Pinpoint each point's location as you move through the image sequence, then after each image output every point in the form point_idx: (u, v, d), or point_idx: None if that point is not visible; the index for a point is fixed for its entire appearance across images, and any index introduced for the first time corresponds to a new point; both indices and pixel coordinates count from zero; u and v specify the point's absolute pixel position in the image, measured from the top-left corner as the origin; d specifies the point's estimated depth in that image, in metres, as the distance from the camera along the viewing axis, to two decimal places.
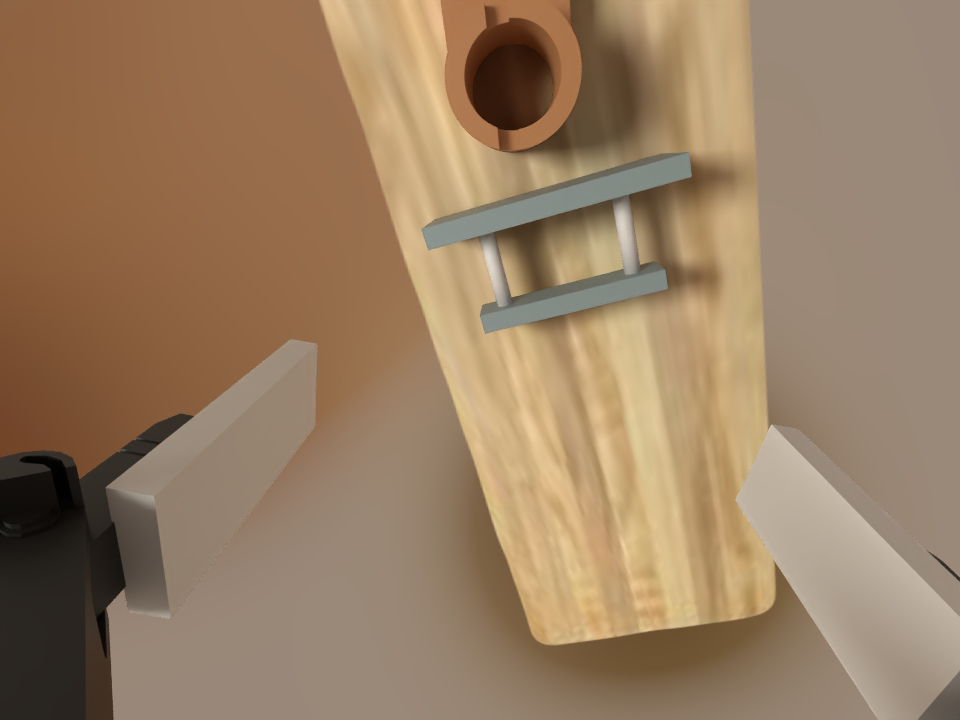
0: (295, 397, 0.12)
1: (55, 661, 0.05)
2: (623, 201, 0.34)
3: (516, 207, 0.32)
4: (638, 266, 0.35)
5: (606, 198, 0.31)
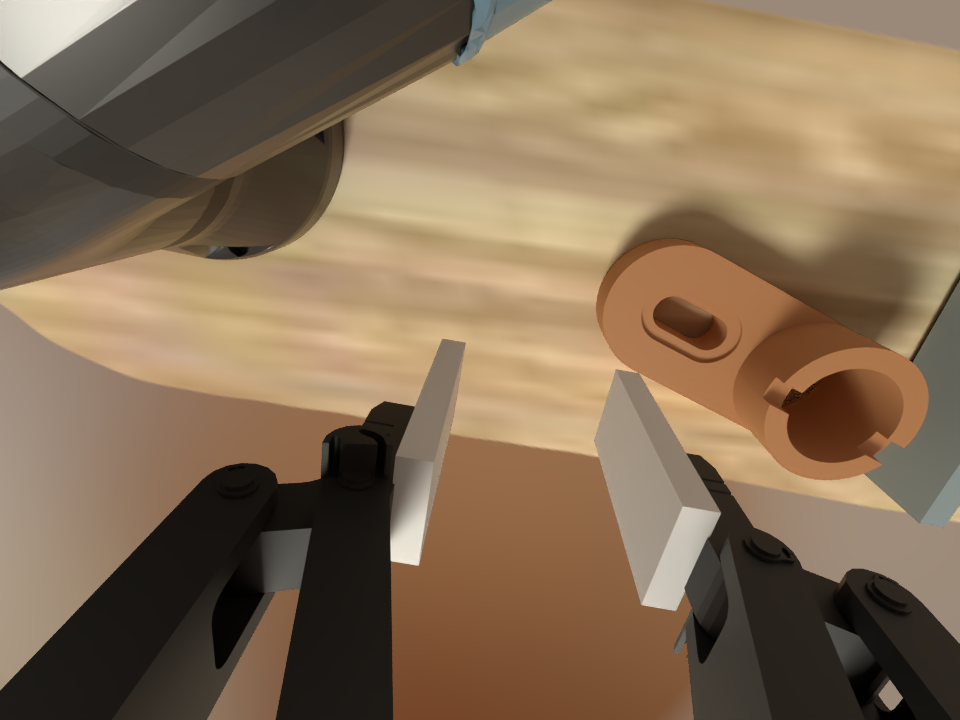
0: (456, 388, 0.14)
1: (372, 599, 0.06)
2: None
3: None
4: None
5: None
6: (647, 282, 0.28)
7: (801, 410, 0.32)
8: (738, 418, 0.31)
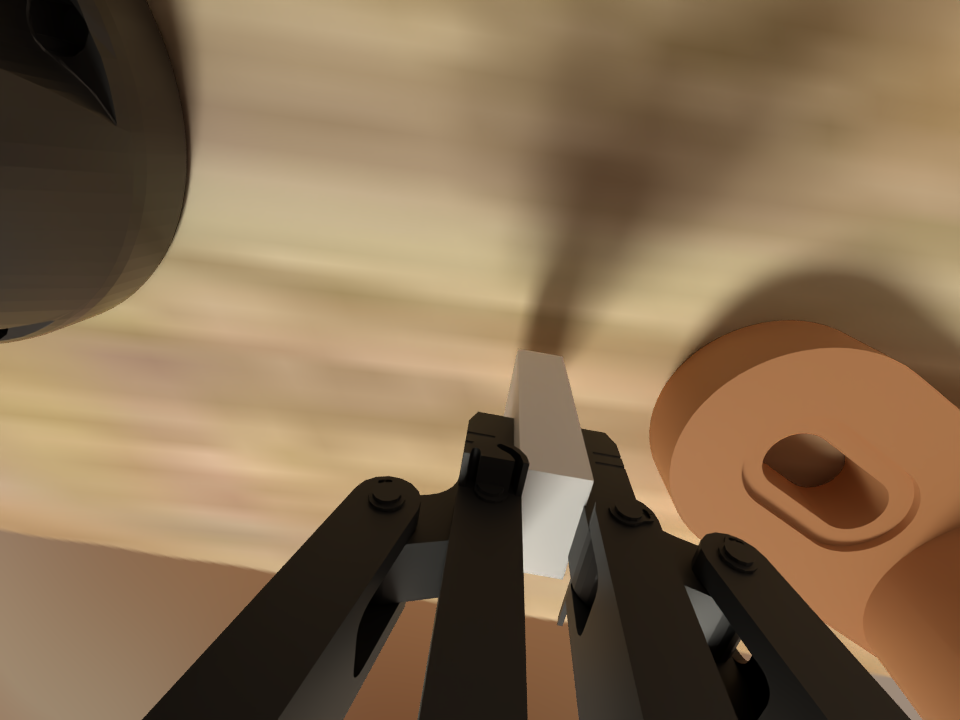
0: None
1: (506, 613, 0.07)
2: None
3: None
4: None
5: None
6: (771, 405, 0.15)
7: None
8: (863, 638, 0.18)
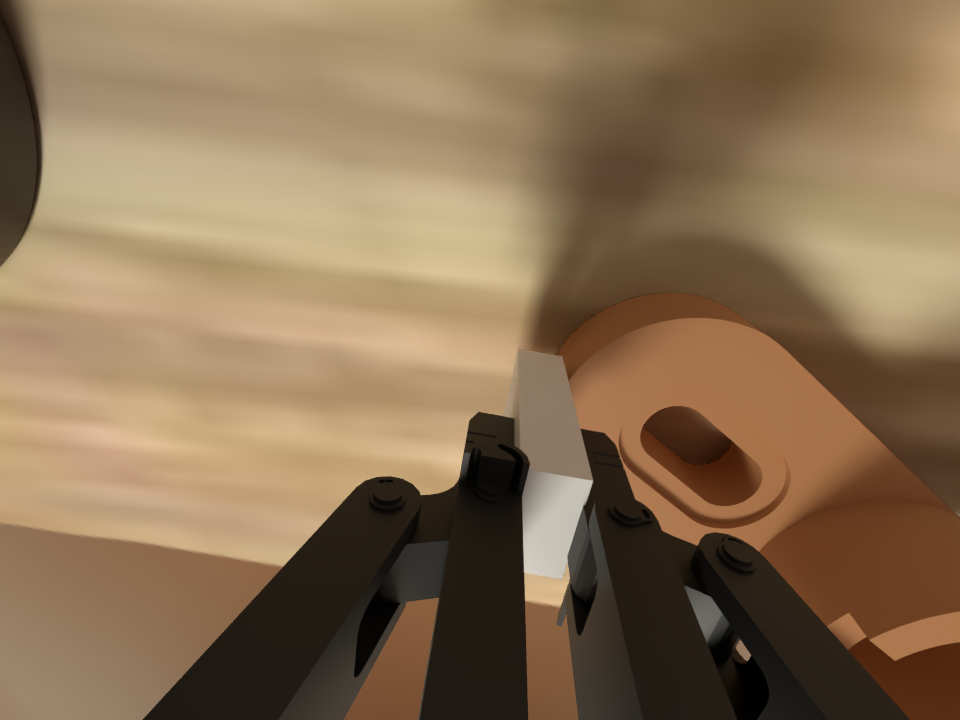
0: None
1: (506, 612, 0.07)
2: None
3: None
4: None
5: None
6: (646, 374, 0.15)
7: None
8: None
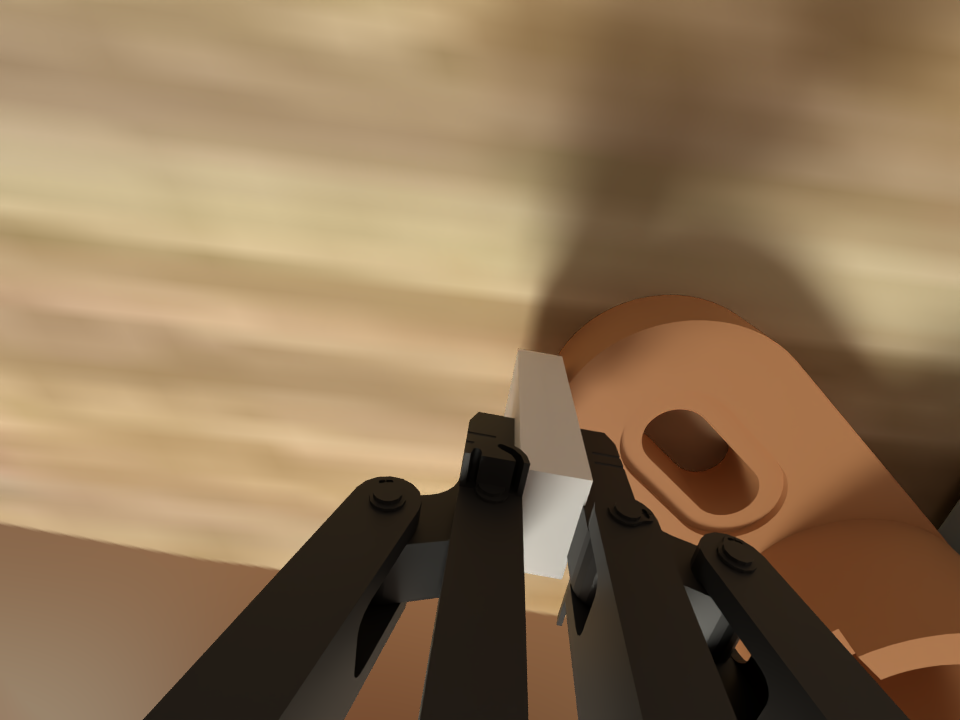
0: None
1: (506, 613, 0.07)
2: None
3: None
4: None
5: None
6: (655, 374, 0.14)
7: None
8: None
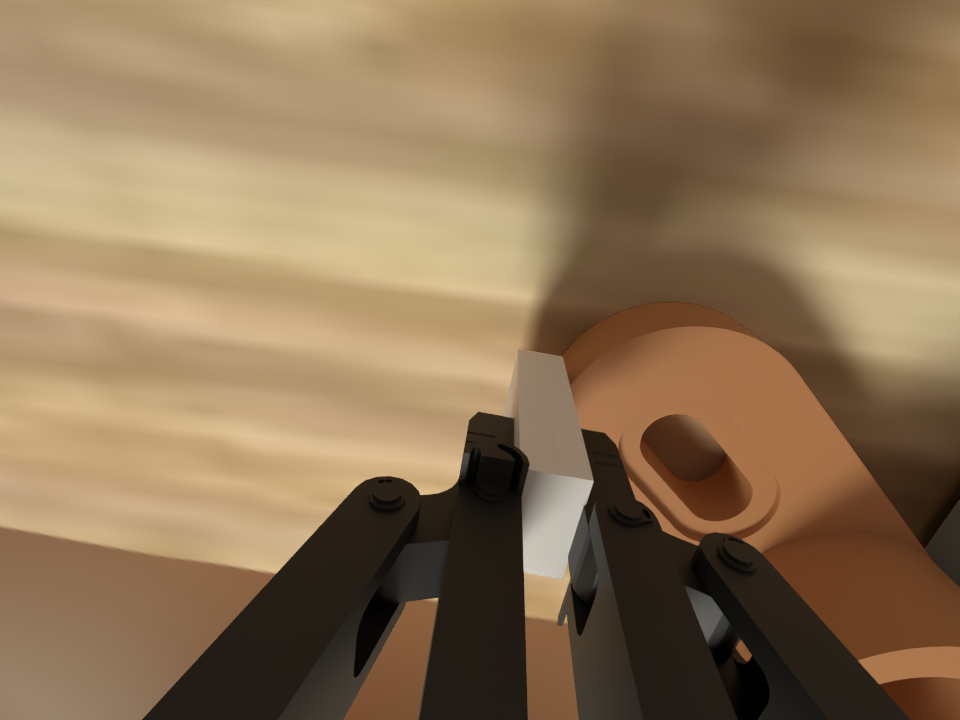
0: None
1: (506, 613, 0.07)
2: None
3: None
4: None
5: None
6: (658, 378, 0.14)
7: None
8: None
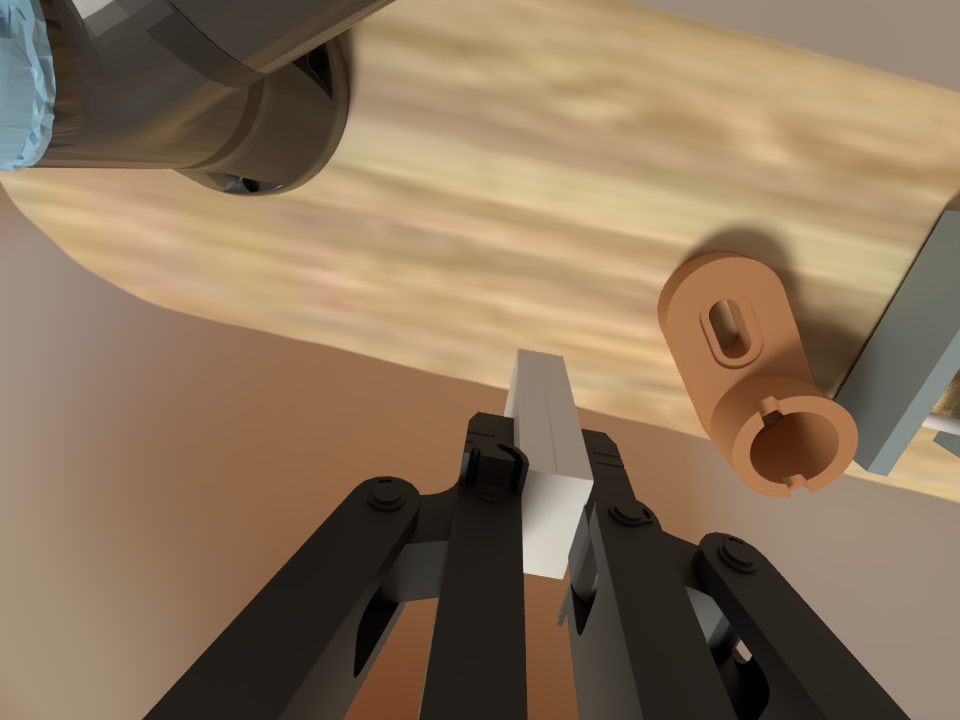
0: None
1: (506, 613, 0.07)
2: None
3: (925, 390, 0.31)
4: None
5: None
6: (727, 278, 0.34)
7: None
8: (710, 420, 0.38)
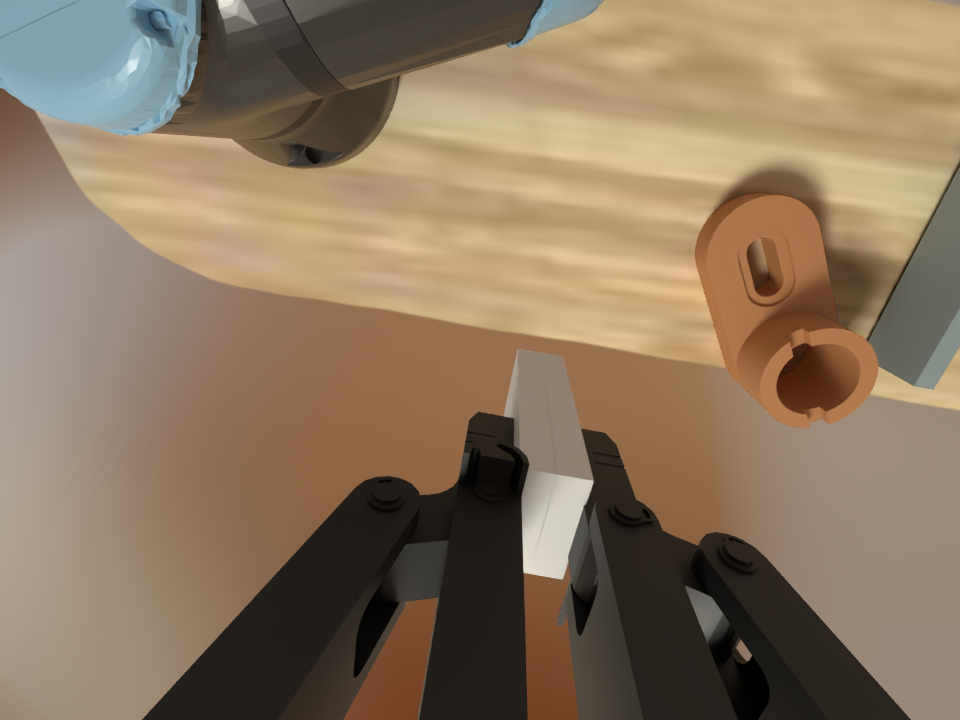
0: None
1: (506, 613, 0.07)
2: None
3: None
4: None
5: None
6: (768, 216, 0.35)
7: None
8: (736, 356, 0.40)
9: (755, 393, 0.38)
